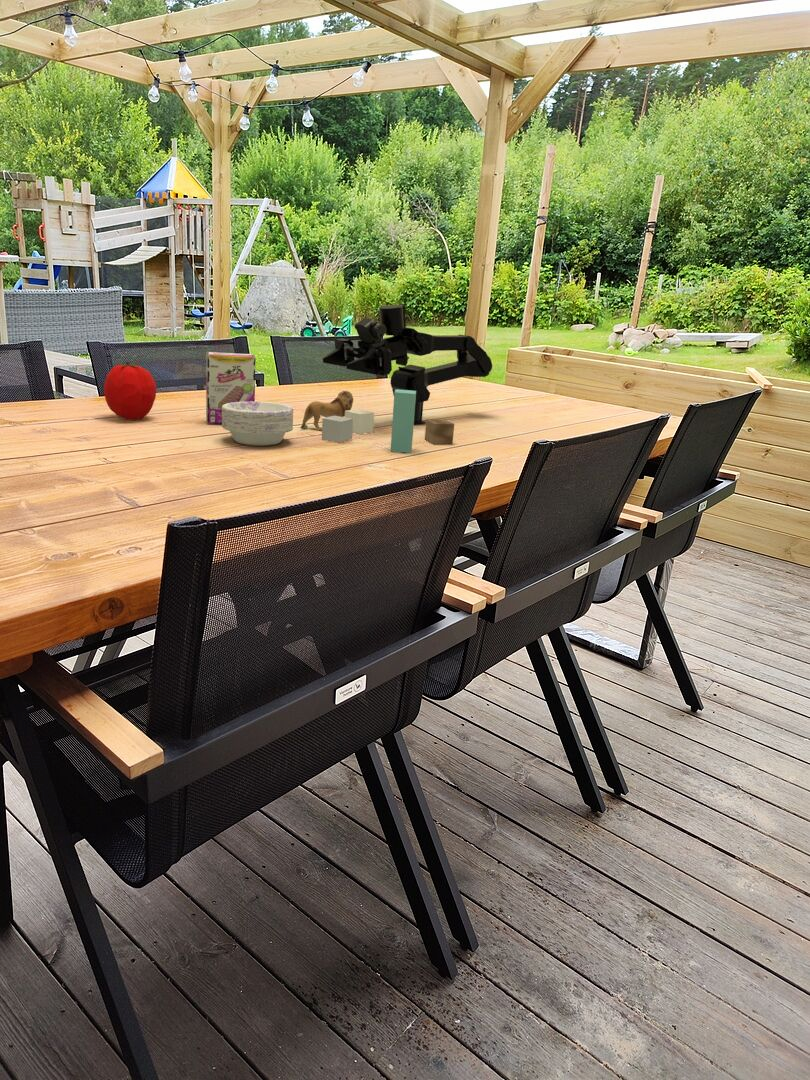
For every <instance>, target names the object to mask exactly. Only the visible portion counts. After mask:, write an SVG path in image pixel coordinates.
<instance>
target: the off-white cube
mask: <svg viewBox="0 0 810 1080" xmlns="http://www.w3.org/2000/svg"><path fill="white" fill-rule="evenodd" d="M344 417H346V418H351V419H353V428H352V434H353V433H356V434H355V435H357V434H361V435H365V434H364V433H368V434H372V433H371V432H373V433H374V425H375V412H373V411H368V410H365V409H361V408H359V409H358V408H357V409H351V410H347V411H345V416H344Z"/></svg>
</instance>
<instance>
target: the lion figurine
mask: <svg viewBox="0 0 810 1080" xmlns="http://www.w3.org/2000/svg"><path fill="white" fill-rule="evenodd" d="M337 395H338V396H336V397H335V398H334V399H333V400H332V401H330V402H323V401H317V400H315V401H311V402H309V404H308V405H307V406H306V409H305V411H304V415H303V419H302V425H301V426H300V429H302V430H303V429H308V425H307V422H308V421H309V420H311V419H312V418H313V425H314V427H315V428H316V430H317V431H321V432H322V427H320V426H319V421H320V419H321V417H323V418H326V417H330V416H340V417H345V411H347V410H352V408H353V403H354V397H353V393H352V392H350V391H348V390H342V391H340V392H339V393H338V394H337Z"/></svg>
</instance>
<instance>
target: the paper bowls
mask: <svg viewBox="0 0 810 1080" xmlns="http://www.w3.org/2000/svg"><path fill="white" fill-rule="evenodd" d="M293 425H294V408H293V406H290V405H288V404H284V403H278V402H271V401H269V402H268V401H255V402H254V401H252V402H250V401H249V402H232V403H227V404H224V405H223V406H222V424H221V427H222V429H223V430H225V431H229V433H230V434H231V437H232V439H233V441H235V442H236V443H238V444H242V445H245V446H254V447H255V446H259V447H265V446H274V445H277V444H279V443H281V442H282V441H283V439H284V437H285V434H286V433H290V432H292V431H293V429H294V426H293Z"/></svg>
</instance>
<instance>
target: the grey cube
mask: <svg viewBox="0 0 810 1080" xmlns="http://www.w3.org/2000/svg"><path fill="white" fill-rule="evenodd" d="M321 425H322V426H321V428H322V431H321V440H322V441H326V440H328V441H327V442H331V441H334V442H333V443H336V442H340V443H339V444H342V443H341V442H343V443H345V442H344V441H347V440H350V439H352V440H353V433H352V428H353V419H351V418H346V417H345V416H344V417H340V416H330V417H323V418H322V421H321ZM350 441H351V440H350ZM347 442H348V441H347Z"/></svg>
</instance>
